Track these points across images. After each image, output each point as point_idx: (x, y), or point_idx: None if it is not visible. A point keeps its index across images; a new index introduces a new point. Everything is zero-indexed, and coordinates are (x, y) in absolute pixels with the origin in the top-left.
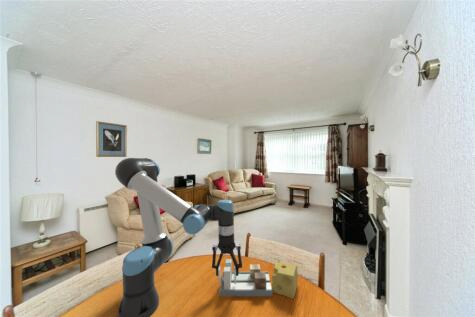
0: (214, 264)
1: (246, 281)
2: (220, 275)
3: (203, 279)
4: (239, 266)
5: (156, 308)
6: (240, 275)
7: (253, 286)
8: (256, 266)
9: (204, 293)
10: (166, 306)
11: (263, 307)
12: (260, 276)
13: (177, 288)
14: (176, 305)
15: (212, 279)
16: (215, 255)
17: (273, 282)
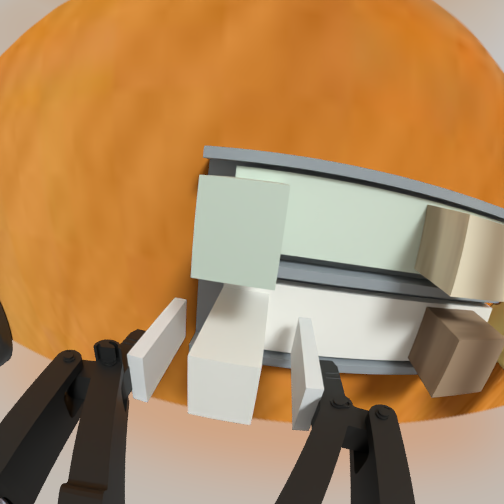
0: (78, 416)
1: (382, 289)
2: (171, 333)
3: (91, 173)
4: (350, 451)
5: (9, 333)
6: (354, 207)
7: (407, 335)
8: (500, 261)
9: (117, 297)
10: (24, 328)
11: (395, 407)
12: (467, 379)
13: (14, 238)
14: (46, 334)
15: (141, 176)
16: (41, 478)
17: (497, 361)
